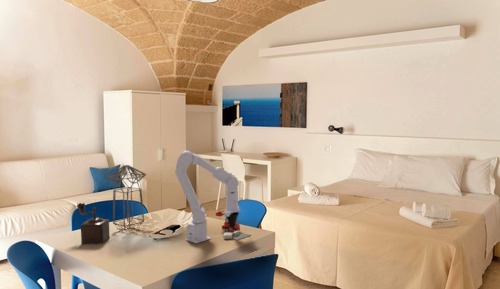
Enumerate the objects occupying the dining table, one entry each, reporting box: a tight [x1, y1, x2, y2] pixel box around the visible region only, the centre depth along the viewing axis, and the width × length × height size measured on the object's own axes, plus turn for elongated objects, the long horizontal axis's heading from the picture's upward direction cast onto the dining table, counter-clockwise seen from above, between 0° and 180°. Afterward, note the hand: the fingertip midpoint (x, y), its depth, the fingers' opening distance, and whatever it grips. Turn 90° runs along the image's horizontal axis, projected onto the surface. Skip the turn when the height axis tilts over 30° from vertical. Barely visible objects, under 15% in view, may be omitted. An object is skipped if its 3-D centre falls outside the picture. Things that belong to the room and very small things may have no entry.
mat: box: [231, 231, 252, 241], centre depth 202 cm, size 10×10×1 cm
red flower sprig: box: [215, 210, 241, 232], centre depth 211 cm, size 3×14×10 cm, turn 58°
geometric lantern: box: [106, 164, 147, 233], centre depth 211 cm, size 16×16×35 cm
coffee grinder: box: [76, 202, 111, 245], centre depth 196 cm, size 16×11×18 cm
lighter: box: [222, 231, 240, 240], centre depth 200 cm, size 7×2×8 cm
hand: (232, 227), depth 198 cm, fingers closed
